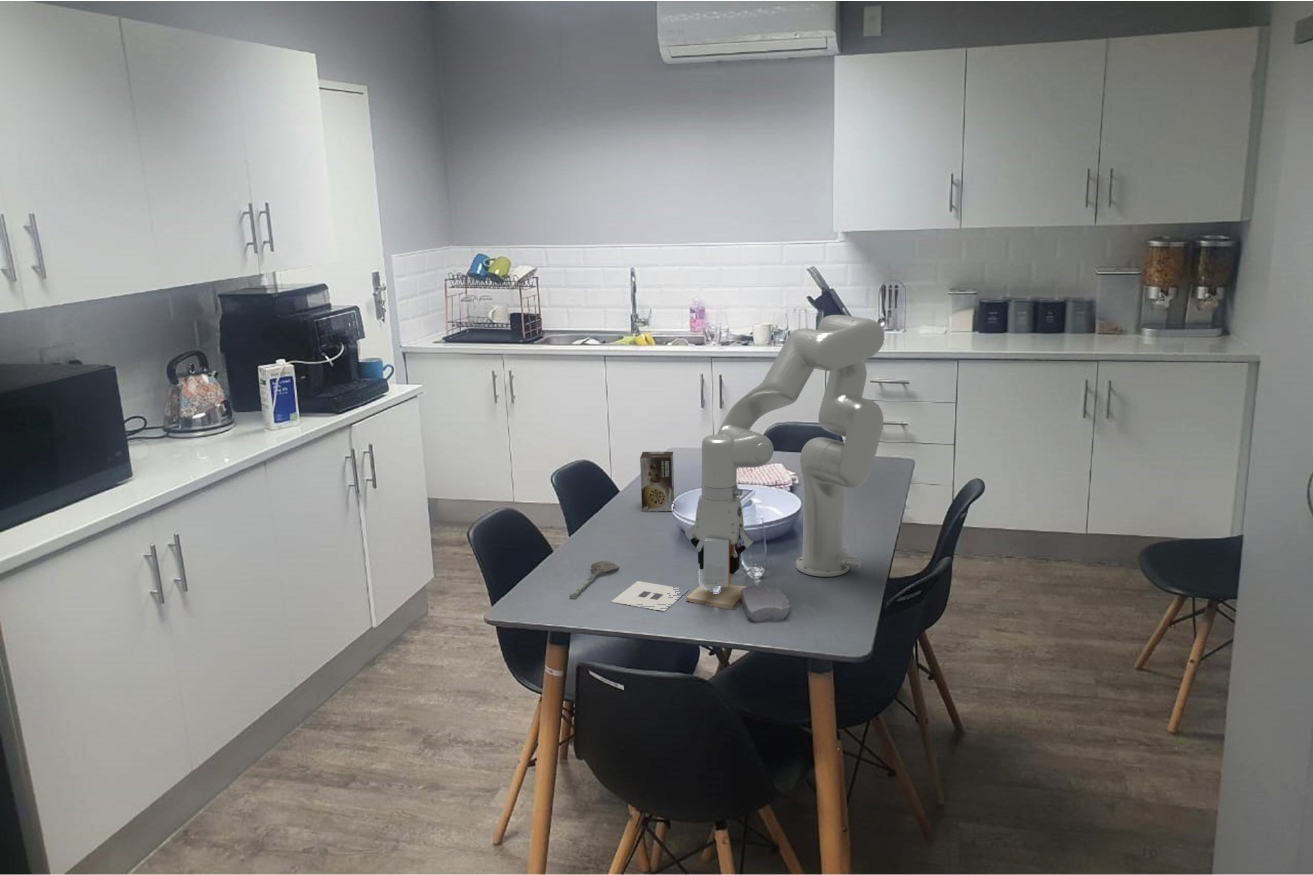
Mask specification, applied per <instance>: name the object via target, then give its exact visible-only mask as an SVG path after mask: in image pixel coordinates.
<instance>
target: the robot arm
mask: <svg viewBox="0 0 1313 875" xmlns="http://www.w3.org/2000/svg"><path fill="white" fill-rule="evenodd" d="M884 332H885V331H884V328H883V327H882V325H881V324H880V323H879V322H878V321H876V320H874V319H871V318H866V317H856V316H851V315H846V314H845V315H844V314H830V315H826V316H824V317H823V318H822V319H821V320H820V322H819V324H818V327H817V329H815V328H807V327H806V328H804V327H803V328H796V329H795V330H793V331H792V332H790V334H789V336H788V337H787V338H786V340H785V341H784V344H783V346H782V347H781V349H780V350H779V352H778V354H777V356H776V357H775V359H774V361H773V363H772V365H771V366H770V368H769V371H768V372H767V373H766V375H765V377H764V379H763V380H762V382H760V384H759V385H757V386H756V387H754V388H753V389H751V390H750V391H749V392H748V393H746V394H745V395H744V396H743V397H741V398H740V399H739V400H738V401H737V402H736V403H735V404H734V405H733V406H732V407H731V408H730V410H729V411H728V412H727V414H726V416H725V417H724V419H723V422H722V423H721V425H720V427H719V429H718V430H717V431H718V432H717V434H710V435H708V436H707V435H706V436H705V437H704V438H703V439H702V441H701V495H699V497H698V501H697V507H696V512H695V521H694V522H695V523H694V524H693V525H692V526H690V527H689V528H688V529H686V530H685V532H684V534H685V536H686V537H687V539H688V540H690V542H691V544H692V545H693V547H694V548H695V551H696V552H697V564H698V565H699V569H700V570H704V540H705V538H706V537H708V538H717V539H724V540H729V541H730V551H731V553H732V556H731V557H730V574H733V575H734V574H736V573H737V571H739V570H740V567H741V566H740V562H741V560H740V558H741V557H740V556H741V554H742V553H744V551H746V549H748V548H749V547H750V546H751V545H752V544H753V543H754V538H752V536H750V534H749V533H748V532H747V531H746V530H745V525H744V522H745V521H744V513H743V505H742V501H741V498H740V497H738V496H743V489H741V488H738V487H739V486H738V483H737V480H738V479H737V476H738V474H737V471H738V469H740V468H747V469H749V468H760V467H762V466H765V465H766V464H768V463H769V462H770V461H771V459H772V457H773V456H774V445H773V442H772V441H771V440H770V438H769V437H767V436H766V435H764V434H762V433H759V432H756V431H752V430H751V429H752V427H753V426H754V424H755V423H756V422H757V421H758V419H760V418H761V417H763V416H764V415H766V414H768V413H770V412H772V411H773V412H774V411H775V410H778V409H782V408H785V407H788V406H791V405H793V404H794V403H795V402H796V401H797V400H798V398H799V397H800V395H801V394H802V391H803V390H804V387H805V386H806V383H807V382H808V380H809V378H811V375H812V374H813V372H814V370H820V371H826V372H829V374H828V377H827V378H828V379H827V383H826V387H825V390H824V393H823V397H822V400H821V403H820V408H819V411H818V420H817V421H818V424H819V426H820V427H821V429H823V430H824V431H827V432H829V433H831V434H834V435H837V436H841V437H845V439H844V442H843V441H840V440H836V439H833V438H830V437H822V436H821V437H819V436H818V437H814V438H811V439H809V440H808V441H807V442H806V443H805V444H804V446H803V447H802V449H801V452H800V459H799V464H800V468H801V469H800V470H801V474H802V480H803V517H802V518H803V520H802V556H800V557H799V558H797V560H796V561H795V568H796V569H797V570H798V571H800V572H801V573H803V574H806V575H809V576H813V577H821V578H822V577H823V578H828V577H829V578H831V577H838V576H842V575H844V574H846V573H847V572H848V571H849V570H850V567H853V568H858V569H860V568H861V564H862V560H861V559H859V556H857V555H856V556H855V555H850V554H848V549H847V548H844V541H845V540H844V537H845V508H846V495H845V494H846V493H845V489H844V488H849V489H855V488H858V487H860V486H862V485H863V484H864V483H865V482H866V481H867V480H868V478H869V476H870V474H871V471H872V468H873V465H874V461H875V459H876V455H877V452H878V448H879V445H880V444H879V443H880V441H881V437H882V433H883V430H884V413H883V411H882V408H881V407H880V405H879V404H878V403H877V402H875V401H873V400H871V399H868V398H864V397H863V395H864V390H865V386H866V382H867V375H868V374H867V373H868V372H867V365H866V363H865V362H866V360H867V359H869V358H871V357H872V358H873V356H875V355H876V354H878V352H879V351H880V350H881V349H882V347H883V345H884V343H885V342H884V341H885V333H884ZM741 540H743V541H744V542H743V543H742V544H741V545H740V543H739V541H741Z"/></svg>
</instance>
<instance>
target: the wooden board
mask: <svg viewBox="0 0 1313 875" xmlns="http://www.w3.org/2000/svg"><path fill="white" fill-rule="evenodd" d="M745 587H746V586H744V585H738V584H732V583H729V587H722V588H721V592H720V593H719V594H713V592H710V590H705V589H704V588H702V587H701V586H700V585H698V586H697V587H696V588H695V589H694V590H693V591H692V592H691V593H690V594H688V595H687V596H686V597H685V602H686V601H690V602H689V603H691V602H694V603H693V604H697V603H700V604H699V605H702V604H708V605H711V606H710V607H714V606H715V608H719V609H724V610H725V609H726V610H731V611H733V610H734V609H735V608H737V607H738V605H740V603H742V602H741V590H742V589H743V588H745ZM708 605H707V606H708Z"/></svg>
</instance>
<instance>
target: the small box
mask: <svg viewBox="0 0 1313 875" xmlns="http://www.w3.org/2000/svg"><path fill="white" fill-rule="evenodd" d="M731 556H732V553H731V551H730V541H729V540H724V539H717V538H708V537H706V538H705V540H704V569H703V582H704V585H705V586H722V587H729V584H731V580H732V578H733V575H734V574H730V557H731Z"/></svg>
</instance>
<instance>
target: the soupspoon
mask: <svg viewBox="0 0 1313 875" xmlns="http://www.w3.org/2000/svg"><path fill="white" fill-rule="evenodd" d="M590 568H591V569H592V570H593V571H594V572H593V573H592V574H591V575H590V576H589V577H588V578H586V580H585V581H584V583H583V584H582V585H581V586H580V587H579V588H578V589H576V590H575V591H574V593H570V594H569V598H570V599H573V600H577V599H578V595H579V594H580V593H581V591H582V590H583V589H584V588H585V587H586V586H587V585H588V584H589V583H590V582H591V581H592V580H593V579H594V578H595V577H596V576H598V575H599V574H602V573H606V572H609V571H613V570H616V569H619V568H620V567H619V566H618V565H617V564H616V563H613V562H611V561H607V560H601V561H596V562H594V563H592V564H591V565H590Z"/></svg>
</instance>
